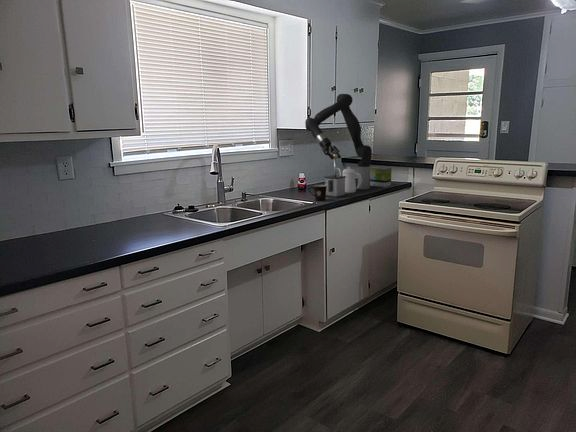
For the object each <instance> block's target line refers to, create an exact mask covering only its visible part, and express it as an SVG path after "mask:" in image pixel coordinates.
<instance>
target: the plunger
mask: <svg viewBox="0 0 576 432" xmlns="http://www.w3.org/2000/svg"><path fill="white" fill-rule="evenodd" d="M332 155H333V157H334V159H333V175H334V177H336V175H337V169H336V168H337V159H339V158H338V154H333V153H332Z"/></svg>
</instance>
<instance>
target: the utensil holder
mask: <svg viewBox="0 0 576 432" xmlns="http://www.w3.org/2000/svg"><path fill="white" fill-rule="evenodd" d="M323 177H324V185H327V188H326V197H325V198H333V199H337V198H342V197H345V196H346V193H345V178H346V176H342V175H341V176H340V175H337V174H336V177H334V174H333V175H326V176H323Z"/></svg>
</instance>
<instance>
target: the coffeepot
mask: <svg viewBox="0 0 576 432" xmlns="http://www.w3.org/2000/svg"><path fill="white" fill-rule="evenodd" d="M336 170H338V171H339V176H346V178H345V194H352V193H353V194H354V193H356V192H357V189H358V187H359V186H360V185H361V183H362V177H361V175H360V174H359V173H358V172H356V171H355V169H354V168H351V166H347V168H344V169H343V170H341V169H340V168H339V167H336ZM341 171H342V173H341ZM358 174H359V175H360V177H359V175H358ZM356 175H357V178H358V177H359V184H360V185H359V184H358V183H357V184H356ZM360 178H361V182H360Z"/></svg>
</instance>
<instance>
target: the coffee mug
mask: <svg viewBox="0 0 576 432" xmlns="http://www.w3.org/2000/svg"><path fill="white" fill-rule="evenodd" d="M326 188H327V185H325V184H314V185H313V186H310V187H309V188H308V192H309V193H310V194H311V195H312V196H313V197H314V198H315V201H316V202H325V201H326V198H327V197H326ZM310 189H313V192H314V193H313V192H311V190H310Z"/></svg>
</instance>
